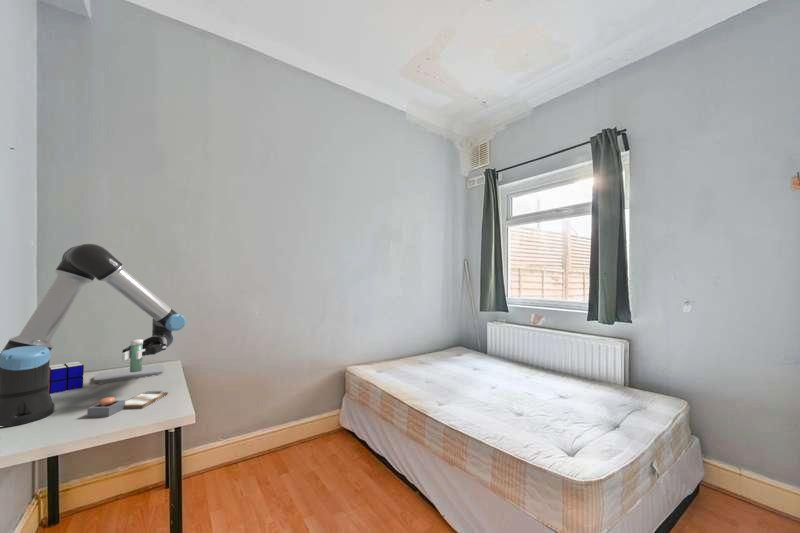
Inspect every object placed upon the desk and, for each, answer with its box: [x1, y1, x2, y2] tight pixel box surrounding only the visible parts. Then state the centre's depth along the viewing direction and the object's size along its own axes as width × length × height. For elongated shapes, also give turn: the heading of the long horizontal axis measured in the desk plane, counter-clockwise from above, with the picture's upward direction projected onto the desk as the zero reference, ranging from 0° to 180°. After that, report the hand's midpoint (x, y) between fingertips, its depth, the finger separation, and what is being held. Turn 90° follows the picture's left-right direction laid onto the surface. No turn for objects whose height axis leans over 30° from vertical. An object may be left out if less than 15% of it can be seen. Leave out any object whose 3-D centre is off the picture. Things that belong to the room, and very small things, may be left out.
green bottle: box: [129, 338, 144, 372], centre depth 126 cm, size 4×4×12 cm
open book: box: [123, 390, 169, 410], centre depth 123 cm, size 14×10×2 cm
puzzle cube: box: [48, 361, 85, 395], centre depth 138 cm, size 10×10×10 cm
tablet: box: [93, 364, 165, 385], centre depth 157 cm, size 16×26×2 cm, turn 130°
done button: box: [98, 396, 116, 405], centre depth 113 cm, size 4×4×2 cm
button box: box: [86, 399, 126, 418], centre depth 113 cm, size 7×7×3 cm
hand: (130, 356), depth 121 cm, fingers closed on green bottle, 3 cm apart
